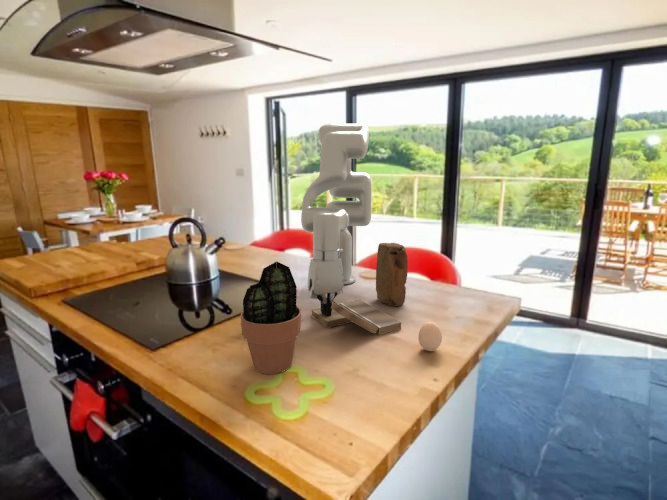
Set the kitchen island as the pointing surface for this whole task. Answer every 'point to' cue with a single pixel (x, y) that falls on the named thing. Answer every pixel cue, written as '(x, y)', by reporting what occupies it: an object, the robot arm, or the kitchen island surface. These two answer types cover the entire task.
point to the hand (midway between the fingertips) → (326, 314)
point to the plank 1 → (329, 318)
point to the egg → (430, 336)
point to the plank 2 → (354, 318)
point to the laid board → (373, 316)
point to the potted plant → (271, 319)
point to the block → (391, 273)
